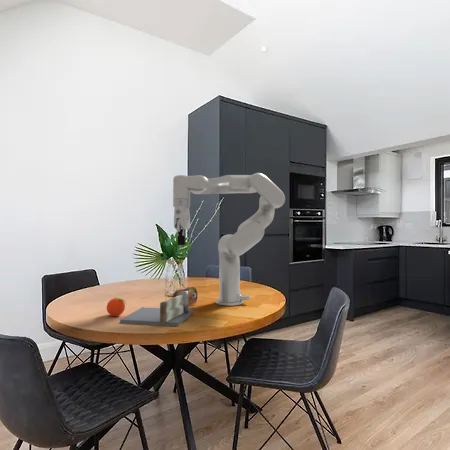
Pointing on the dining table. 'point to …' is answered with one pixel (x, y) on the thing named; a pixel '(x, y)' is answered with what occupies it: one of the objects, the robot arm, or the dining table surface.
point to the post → (185, 301)
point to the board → (153, 317)
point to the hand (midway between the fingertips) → (181, 244)
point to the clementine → (116, 306)
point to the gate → (171, 308)
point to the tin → (191, 295)
